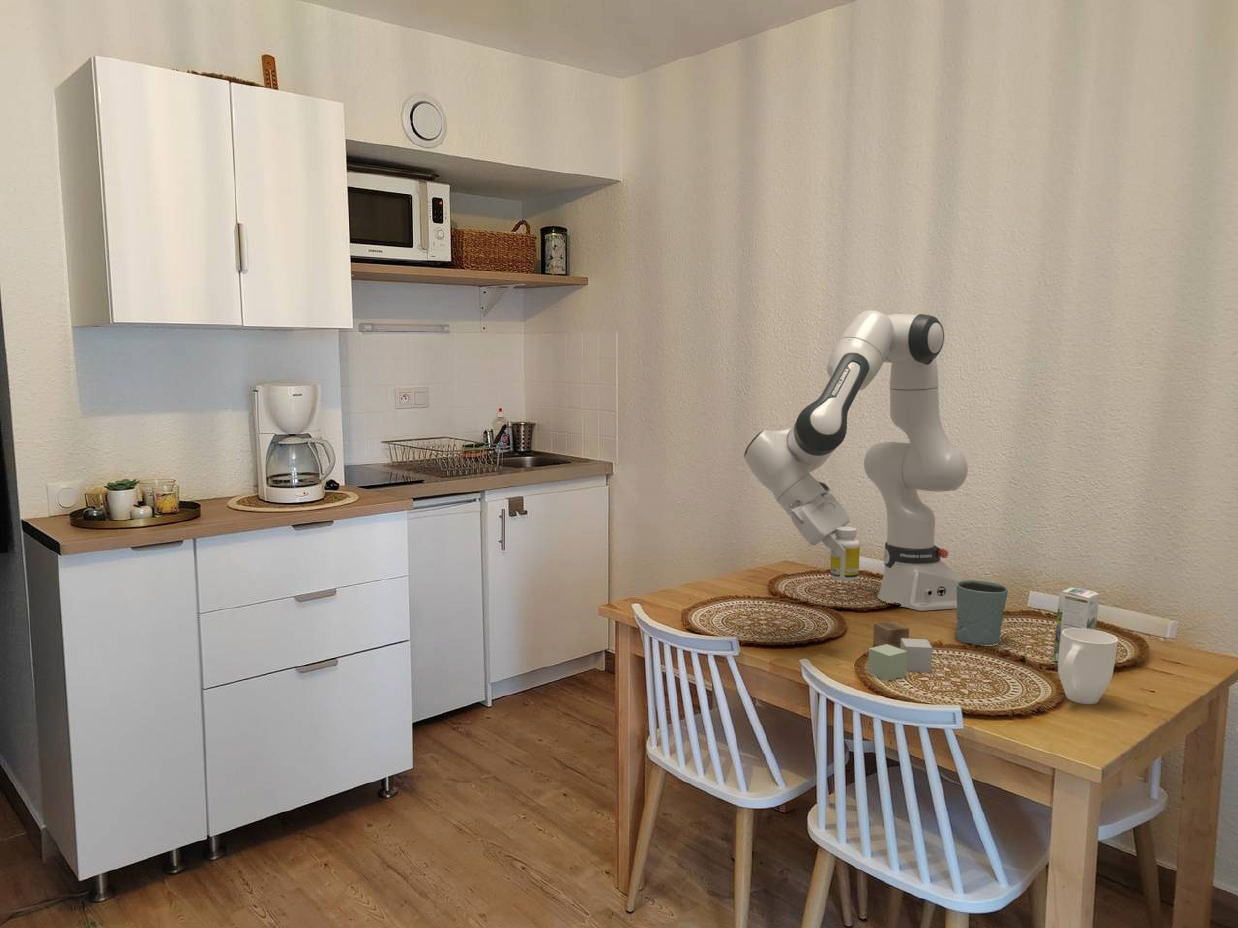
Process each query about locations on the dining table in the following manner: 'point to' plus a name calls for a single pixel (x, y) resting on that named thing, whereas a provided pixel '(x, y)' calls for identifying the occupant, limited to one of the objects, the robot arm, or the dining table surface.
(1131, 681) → the dining table surface
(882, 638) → the walnut cube
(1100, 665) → the mug
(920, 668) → the grey painted cube
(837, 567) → the supplement bottle
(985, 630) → the teal plant pot
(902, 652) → the sage cube
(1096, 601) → the syrup box
